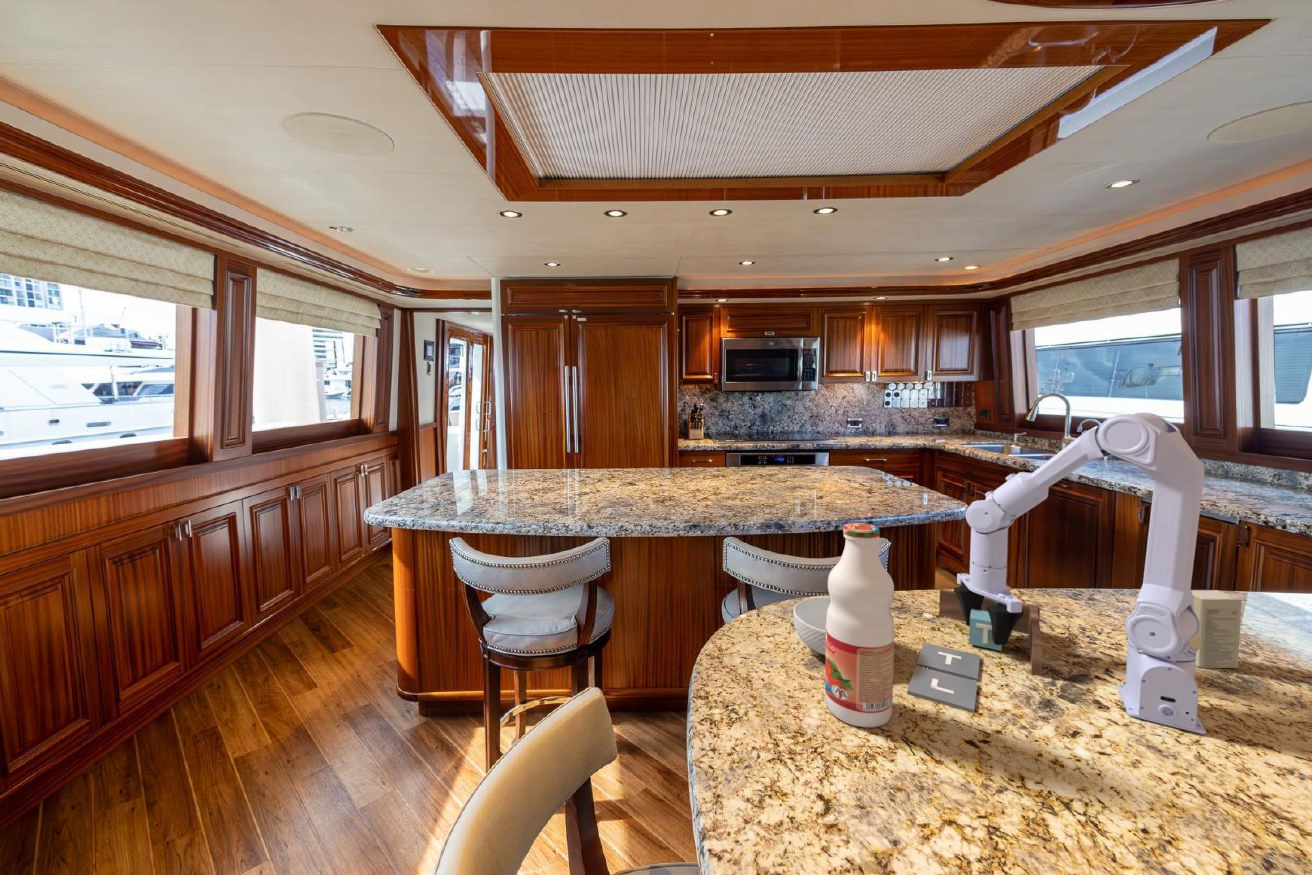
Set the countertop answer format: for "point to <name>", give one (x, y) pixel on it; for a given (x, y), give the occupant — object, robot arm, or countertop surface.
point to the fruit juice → (860, 632)
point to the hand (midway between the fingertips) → (985, 634)
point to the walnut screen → (1025, 624)
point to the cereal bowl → (812, 622)
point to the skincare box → (1216, 629)
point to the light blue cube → (981, 630)
